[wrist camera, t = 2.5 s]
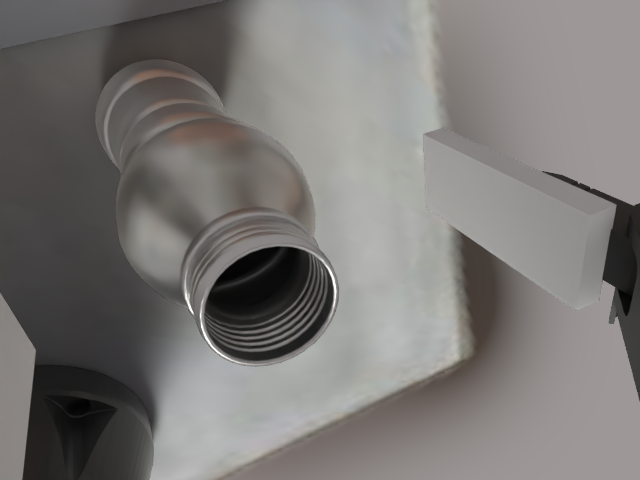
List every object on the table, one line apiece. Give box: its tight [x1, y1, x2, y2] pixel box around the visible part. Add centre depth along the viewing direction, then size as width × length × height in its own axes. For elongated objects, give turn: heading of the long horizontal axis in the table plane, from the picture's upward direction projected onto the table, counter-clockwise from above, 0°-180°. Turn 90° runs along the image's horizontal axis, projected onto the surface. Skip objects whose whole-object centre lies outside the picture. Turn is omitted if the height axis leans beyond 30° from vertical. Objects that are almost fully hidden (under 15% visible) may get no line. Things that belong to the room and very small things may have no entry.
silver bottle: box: [95, 59, 339, 367], centre depth 20 cm, size 6×7×20 cm
